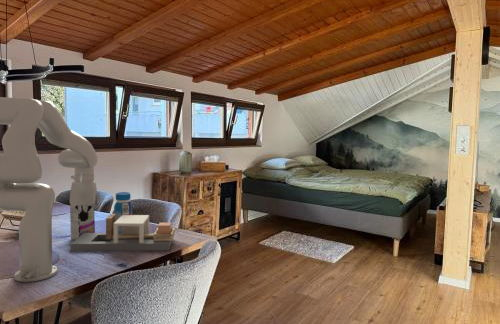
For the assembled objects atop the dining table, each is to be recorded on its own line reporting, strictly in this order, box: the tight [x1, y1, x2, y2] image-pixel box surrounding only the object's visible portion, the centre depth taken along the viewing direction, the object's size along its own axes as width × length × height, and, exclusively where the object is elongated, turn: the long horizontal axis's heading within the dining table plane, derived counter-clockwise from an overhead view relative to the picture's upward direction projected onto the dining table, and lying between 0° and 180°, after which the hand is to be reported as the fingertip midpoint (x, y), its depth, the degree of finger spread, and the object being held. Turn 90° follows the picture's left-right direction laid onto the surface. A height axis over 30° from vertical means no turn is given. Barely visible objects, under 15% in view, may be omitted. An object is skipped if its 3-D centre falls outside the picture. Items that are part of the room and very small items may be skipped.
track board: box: [69, 214, 174, 252], centre depth 153 cm, size 16×40×12 cm, turn 97°
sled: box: [105, 213, 176, 242], centre depth 153 cm, size 10×28×10 cm, turn 97°
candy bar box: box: [69, 205, 96, 241], centre depth 162 cm, size 11×5×16 cm, turn 168°
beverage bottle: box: [113, 191, 133, 233], centre depth 169 cm, size 8×8×20 cm
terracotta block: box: [157, 222, 172, 234], centre depth 155 cm, size 5×5×5 cm
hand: (83, 220), depth 149 cm, fingers closed
